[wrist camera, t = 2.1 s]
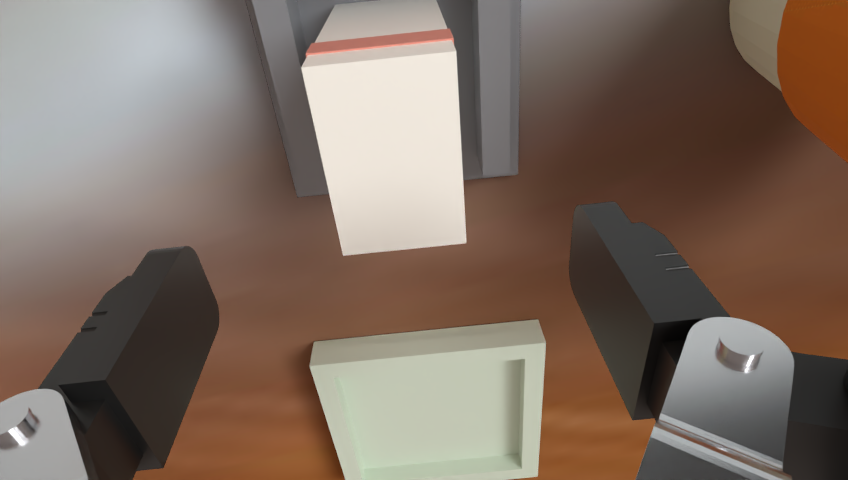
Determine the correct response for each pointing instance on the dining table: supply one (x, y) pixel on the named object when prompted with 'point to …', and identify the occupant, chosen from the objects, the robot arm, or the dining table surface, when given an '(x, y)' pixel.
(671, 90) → the dining table surface
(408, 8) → the white banded brick
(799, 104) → the reusable coffee cup
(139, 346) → the robot arm
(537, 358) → the tray
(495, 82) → the grey holder
